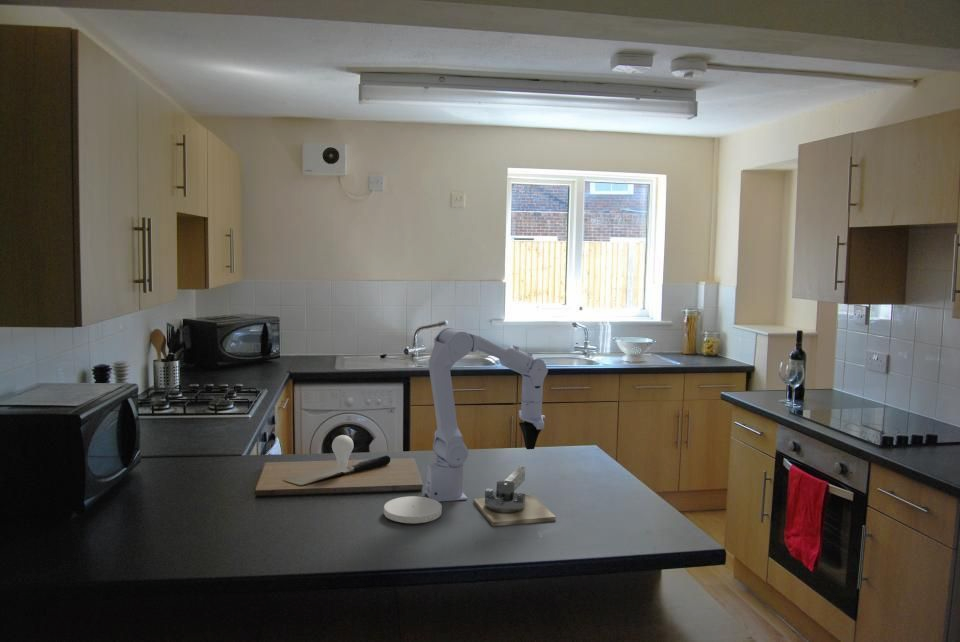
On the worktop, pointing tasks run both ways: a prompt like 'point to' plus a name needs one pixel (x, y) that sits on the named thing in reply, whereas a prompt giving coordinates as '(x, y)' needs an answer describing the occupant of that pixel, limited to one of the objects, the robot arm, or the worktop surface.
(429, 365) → the robot arm
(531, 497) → the square wooden board
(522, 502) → the metal lever mechanism
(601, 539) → the worktop surface
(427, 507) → the plastic lid
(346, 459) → the lightbulb
